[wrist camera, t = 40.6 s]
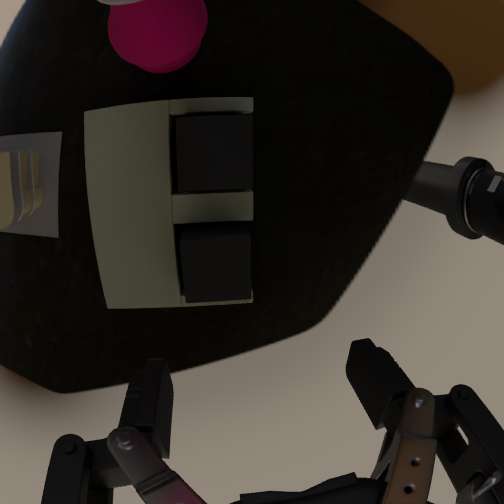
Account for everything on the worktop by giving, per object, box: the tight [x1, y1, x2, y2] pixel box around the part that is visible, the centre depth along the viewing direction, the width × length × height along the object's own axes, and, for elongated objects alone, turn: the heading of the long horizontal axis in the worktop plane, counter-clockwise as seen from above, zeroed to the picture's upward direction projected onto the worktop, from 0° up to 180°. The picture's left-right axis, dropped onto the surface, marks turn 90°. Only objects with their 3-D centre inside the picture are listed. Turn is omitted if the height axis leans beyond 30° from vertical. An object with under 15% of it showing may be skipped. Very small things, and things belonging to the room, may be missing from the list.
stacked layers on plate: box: [0, 132, 62, 238], centre depth 18 cm, size 10×9×6 cm
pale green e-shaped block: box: [84, 97, 253, 308], centre depth 23 cm, size 14×18×2 cm
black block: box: [179, 223, 251, 303], centre depth 24 cm, size 5×5×4 cm
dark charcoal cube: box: [176, 115, 253, 192], centre depth 21 cm, size 5×5×4 cm
